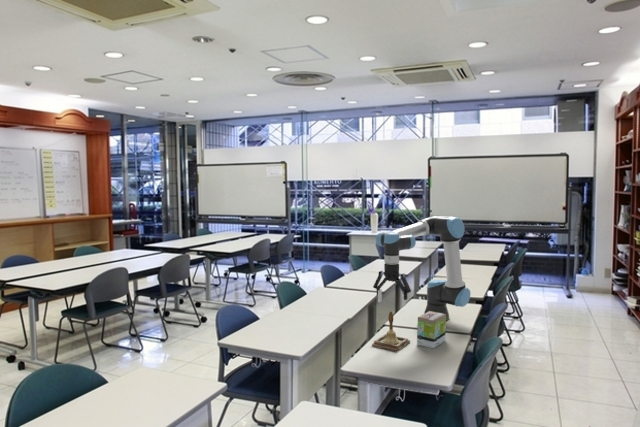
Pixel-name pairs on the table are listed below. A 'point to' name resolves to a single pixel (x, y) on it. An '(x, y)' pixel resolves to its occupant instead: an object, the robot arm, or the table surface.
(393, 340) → the hand bell
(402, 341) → the stand
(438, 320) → the tea box
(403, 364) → the table surface
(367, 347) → the table surface
